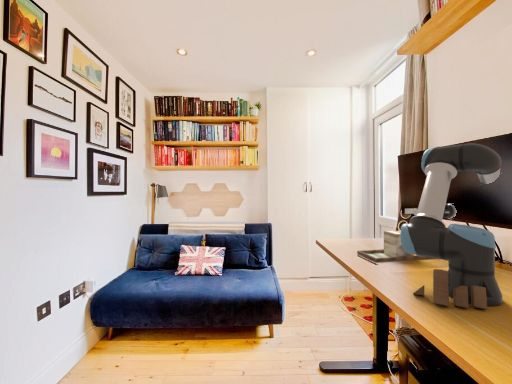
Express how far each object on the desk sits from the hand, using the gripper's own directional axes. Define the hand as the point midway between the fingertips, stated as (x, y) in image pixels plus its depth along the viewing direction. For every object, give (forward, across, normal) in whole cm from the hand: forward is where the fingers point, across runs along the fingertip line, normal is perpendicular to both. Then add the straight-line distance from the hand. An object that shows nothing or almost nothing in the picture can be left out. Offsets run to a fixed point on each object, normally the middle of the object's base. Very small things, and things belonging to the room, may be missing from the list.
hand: (409, 211), depth 126 cm
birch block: (+7, 0, -22) cm, 24 cm away
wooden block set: (+28, -46, -24) cm, 60 cm away
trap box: (+3, 0, -24) cm, 24 cm away
